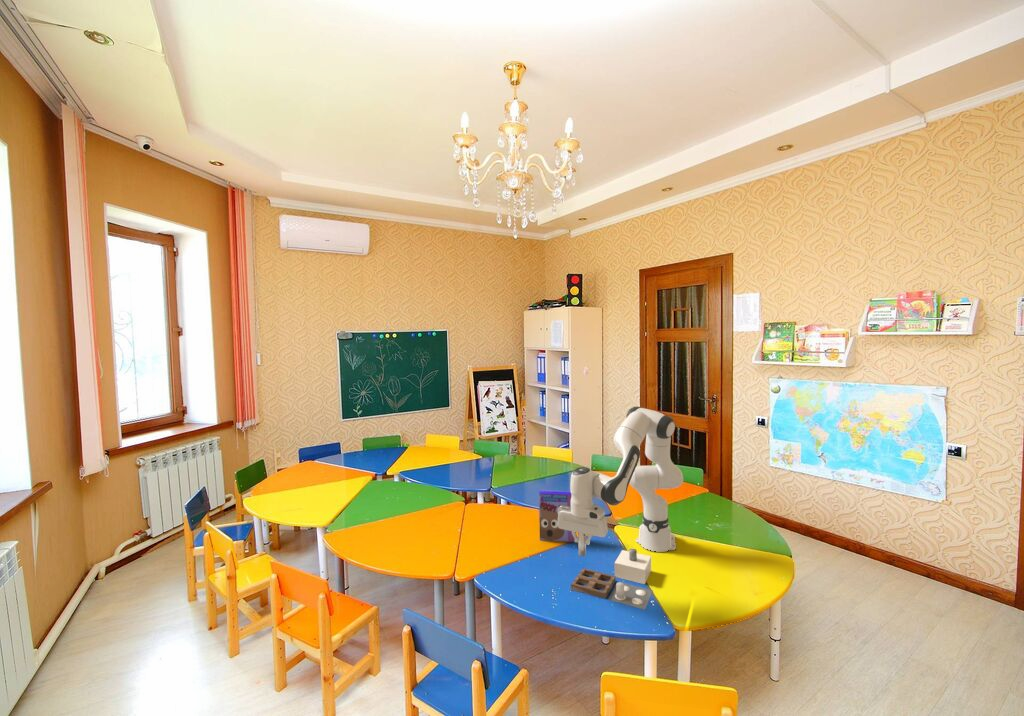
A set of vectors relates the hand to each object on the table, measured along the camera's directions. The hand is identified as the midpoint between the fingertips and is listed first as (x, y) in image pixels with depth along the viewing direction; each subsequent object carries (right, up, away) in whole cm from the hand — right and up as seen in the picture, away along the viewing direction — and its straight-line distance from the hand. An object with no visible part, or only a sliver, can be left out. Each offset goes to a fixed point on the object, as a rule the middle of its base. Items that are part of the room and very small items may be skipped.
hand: (582, 542), depth 177 cm
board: (+18, -19, -5) cm, 27 cm away
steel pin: (0, -5, 0) cm, 5 cm away
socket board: (+5, -19, +2) cm, 20 cm away
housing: (+23, -18, +11) cm, 32 cm away
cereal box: (-5, -18, +46) cm, 49 cm away
